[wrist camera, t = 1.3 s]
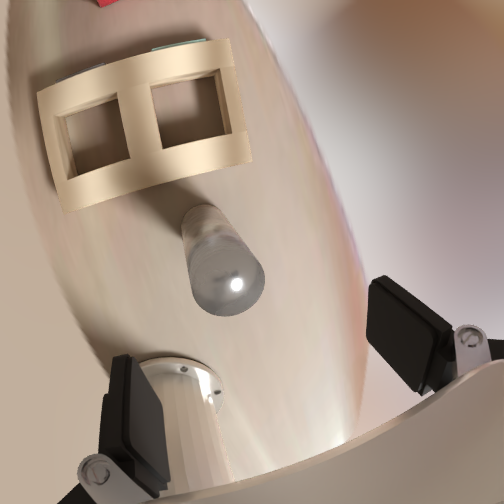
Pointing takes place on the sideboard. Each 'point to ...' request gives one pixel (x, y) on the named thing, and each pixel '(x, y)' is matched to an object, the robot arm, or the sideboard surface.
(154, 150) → the socket block
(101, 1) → the ink box
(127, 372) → the robot arm
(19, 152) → the sideboard surface
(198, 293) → the peg
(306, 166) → the sideboard surface
